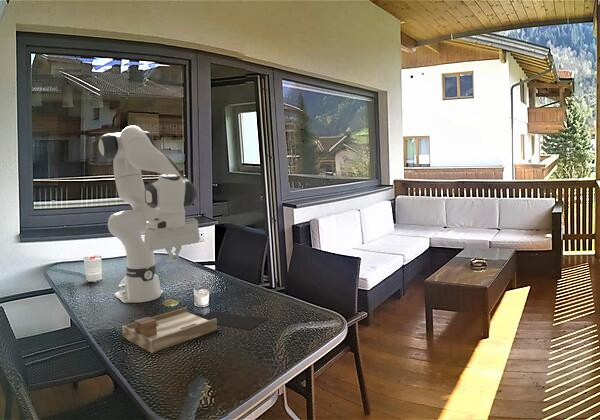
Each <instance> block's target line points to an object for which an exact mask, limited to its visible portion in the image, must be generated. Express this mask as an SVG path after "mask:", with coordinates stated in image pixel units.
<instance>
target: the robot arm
mask: <svg viewBox="0 0 600 420" xmlns="http://www.w3.org/2000/svg"><path fill="white" fill-rule="evenodd" d="M98 139H99V140H98V150H99V152H100V154H101V156H102V157H103V159H106V160H112V161H113V162H112V163H113V164H112V165H113V166H112V167H113V168H112V169H113V176H114V181H115V185H116V186H115V187H116V190H117V195H118V197H119V198H120V200H122V201H124V202H125V203H127V204H128V205H130V206H131V208H132V209H126V210H120V211H119V212H115V213H112V214H111V215H110V216H109V218H108V221H107V229H108V231H109V233H110V234H111V235H112V236H113V237H115V238H117V239H118V240H119V241H120V243H121V244H122V246H123V248H124V250H125V255H126V262H127V266H126V267H125V268H126V269H125V277H123V279H122V280H120V282H119V285H117V287H118V288H117V289H118V290H119V291H116V292H115V293H114V297H116V298H117V299H118V298H119V299H120V300H121V301H122V302H123V304H128V303H129V304H130V303H146V302H150V301H155V300H157V299H159V298H160V297H161V295H162V294H164V290H163V289H161V282H160V276H159V275H158V274H156V273H157V267H156V263H155V251H157V250H158V251H159V250H165V252H166V253H167V254H168V259H169V260H176V259H179V258H180V256H179V254H180V252H181V250H182V246H186V245H193V244H197V243H199V242H200V241H201V240H200V239H201V238H200V237H201V236H200V230H199V221H198V219H197V218H195V217H190V218H186V210H185V208H190V207H191V206H193V204H194V202H196V199H197V196H198V195H197V193H198V192H197V189H196V187H195V185H194V183H192V182H191V181H190V180H189V179H188V178H186V176H185V175H184V174H183V173H182V171H181V170H180V169H179V168H178V166H177V165H176V164H175V163H174V161H173V160H172V159H171V158H170V157H169V156H168V155H167V154H164V153H163V152H161V151H160V150H159V149H157V147H155V141H154V137H153V135H152V134H151V133H150V131H146V130H143V129H142V128H140V127H139V126H137V125H129V126H126V127H125V128H124V129H122V130H121V132H112V133H110V132H109V133H106V134H103V135H101V136H100V138H98ZM142 171H147V172H154V173H157V174H161V175H159V176H158V180H156V181H154V182H151V183H149V184H148V185H147V186H146V187H145V183H144V180H143V175H142ZM142 235H144V238H143V237H142ZM143 239H144V240H143ZM173 248H174V249H175V250H174V252H172V250H173ZM119 299H118V300H119ZM120 300H119V301H120ZM121 301H120V302H121ZM122 302H121V303H122Z"/></svg>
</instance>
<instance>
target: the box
mask: <svg viewBox="0 0 600 420" xmlns="http://www.w3.org/2000/svg"><path fill="white" fill-rule="evenodd" d="M151 318H153V319H155V320H156V328H157V334H156V335H153V336H150V337H146V336H144V335H142V334H140V333H138V332H136V331H135V322H132V323H127V324H125V325H122V326H121V329H122V330H121V331H122V338H123V337H124V338H123V339H125V338H126V340H127V341H129V342H130V343H132V344H134V345H136V346H138V347H140V348H142V349H144V350H146V351H147V352H150V354H153V353H156V352H159V351H162V350H164V349H167V348H170V347H173V346H175V345H179V344H182V343H184V342H187V341H189V340H192V339H195V338H198V337H200V336H201V337H202V336H204V335H206V334H207V335H208V334H209V333H212V332H215V331H218V325H217V319H216V318H215V319H212V320H206V319H204V318H201V317H199V316H196V315H193V313H190V312H188V307H185V306H184V307H181V308H180V309H179V308H178V309H176V310H172V311H168V312H165V313H162V314H158V315H156V316H155V315H154V316H152V317H151Z"/></svg>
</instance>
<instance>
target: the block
mask: <svg viewBox="0 0 600 420" xmlns="http://www.w3.org/2000/svg"><path fill="white" fill-rule="evenodd" d="M134 322H135V331H136V332H138V333H140V334H142V335H144V336H146V337H150V336H153V335H156V334H157V328H156V320H155V319H153V318H151V317H150V316H146V317H142V318H139V319H135V320H134ZM134 322H133V323H134Z"/></svg>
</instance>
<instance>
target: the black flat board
mask: <svg viewBox="0 0 600 420" xmlns="http://www.w3.org/2000/svg"><path fill="white" fill-rule="evenodd" d="M192 314H193V315H196V316H199V317H201V318H204V319H206V320H212V319H215V318H216V319H217V326H222V327H228V328H229V327H230V328H233V329H234V328H235V329H240V330H246V331H251V330H253V329H255V328H256V327H258V326H260V325H261V324H263V323H264V322H266V321H267V320H268V319H269V318H266V317H261V316H251V315H250V316H248V315H240V314H233V313H224V312H221V311H211V310H210V311H209V312H207V313H205V314H204V313H200V312H195V313H192Z"/></svg>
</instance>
